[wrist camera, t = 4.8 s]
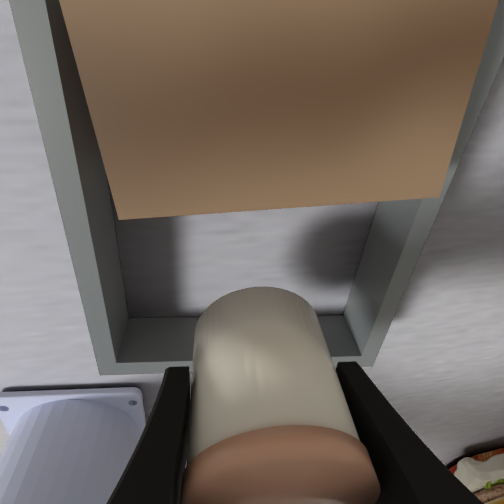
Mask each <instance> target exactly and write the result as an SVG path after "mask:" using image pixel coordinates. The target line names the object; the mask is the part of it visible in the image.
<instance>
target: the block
mask: <svg viewBox="0 0 504 504" xmlns="http://www.w3.org/2000/svg"><path fill="white" fill-rule="evenodd" d="M59 2H60V6H61V9H62V13H63V17H64V20H65V24H66V28H67V31H68V35H69V39H70V42H71V46H72V50H73V53H74V57H75V61H76V64H77V68H78V72H79V75H80V79H81V83H82V86H83V90H84V94H85V97H86V101H87V105H88V108H89V112H90V116H91V119H92V123H93V127H94V131H95V134H96V138H97V142H98V145H99V149H100V153H101V156H102V160H103V164H104V167H105V171H106V175H107V178H108V182H109V186H110V189H111V193H112V197H113V200H114V204H115V208H116V211H117V215H118V219H119V220H126V219H141V218H155V217H169V216H183V215H197V214H211V213H225V212H239V211H253V210H267V209H281V208H296V207H310V206H324V205H338V204H352V203H366V202H380V201H394V200H408V199H422V198H436V197H440V193H441V190H442V187H443V183H444V180H445V177H446V174H447V170H448V167H449V164H450V160H451V157H452V154H453V150H454V147H455V144H456V140H457V137H458V134H459V131H460V127H461V124H462V121H463V117H464V114H465V111H466V107H467V104H468V101H469V98H470V94H471V91H472V88H473V84H474V81H475V78H476V74H477V71H478V68H479V64H480V61H481V58H482V55H483V51H484V48H485V45H486V41H487V38H488V35H489V31H490V28H491V25H492V21H493V18H494V15H495V12H496V8H497V5H498V2H499V0H59Z"/></svg>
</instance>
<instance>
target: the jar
mask: <svg viewBox="0 0 504 504" xmlns="http://www.w3.org/2000/svg"><path fill="white" fill-rule="evenodd" d="M379 495H380V484H379V481H378V478H377V476H376V473H375V470H374V467H373V464H372V462H371V459H370V456H369V453H368V451H367V448H366V447H365V446H364V444H363V443H362V442H360V439H359V436H358V434H357V431H356V428H355V425H354V422H353V419H352V416H351V413H350V410H349V408H348V405H347V402H346V399H345V396H344V393H343V390H342V387H341V384H340V382H339V379H338V376H337V373H336V370H335V367H334V364H333V361H332V358H331V356H330V353H329V350H328V347H327V344H326V341H325V338H324V335H323V332H322V330H321V327H320V324H319V321H318V318H317V315H316V313H315V311H314V309H313V308H312V306H311V305H310V304H309V303H308V302H307V301H306V300H305V299H303V298H302V297H300V296H299V295H297V294H295V293H293V292H290V291H287V290H284V289H280V288H274V287H252V288H246V289H241V290H237V291H235V292H232V293H229V294H227V295H225V296H223V297H221V298H219V299H218V300H216V301H215V302H213V303H212V304H211V305H210V306H208V307H207V309H206V310H205V311H204V312H203V313H202V315H201V316H200V317H199V319H198V321H197V324H196V327H195V334H194V349H193V366H192V382H191V398H190V414H189V431H188V447H187V463H186V468H185V470H184V472H183V475H182V480H181V493H180V504H375V503H376V501H377V500H378V498H379Z"/></svg>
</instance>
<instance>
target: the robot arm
mask: <svg viewBox="0 0 504 504" xmlns="http://www.w3.org/2000/svg"><path fill="white" fill-rule="evenodd" d="M336 373H337V376H338V379H339V382H340V384H341V387H342V390H343V393H344V396H345V399H346V402H347V405H348V408H349V410H350V413H351V416H352V419H353V422H354V425H355V428H356V431H357V434H358V436H359V439H360V442H362V443H363V444H364V446H365V447H366V448H367V451H368V453H369V456H370V459H371V462H372V464H373V467H374V470H375V473H376V476H377V478H378V481H379V484H380V495H379V498H378V500H377V501H376V503H375V504H484V503H483V502H482V501H481V500H480V499H478V498H477V497H476V496H475V495H474V494H473V493H472V492H471V491H470V490H469V489H468V488H467V487H466V486H465V485H464V484H463V483H462V482H461V481H460V480H459V479H458V478H457V477H456V476H455V475H454V474H453V473H452V472H451V471H450V470H449V469H448V468H447V467H446V466H445V465H444V464H443V463H442V462H441V461H440V460H439V459H438V458H437V457H436V456H435V455H434V454H433V453H432V451H431V450H430V449H429V448H428V447H427V446H426V445H425V444H424V443H423V442H422V441H421V439H420V438H419V437H418V436H417V435H416V434H415V433H414V432H413V430H412V429H411V428H410V427H409V426H408V425H407V423H406V422H405V421H404V420H403V419H402V418H401V416H400V415H399V414H398V413H397V412H396V410H395V409H394V408H393V407H392V406H391V404H390V403H389V402H388V401H387V400H386V398H385V397H384V396H383V395H382V393H381V392H380V391H379V390H378V388H377V387H376V386H375V385H374V383H373V382H372V381H371V379H370V378H369V377H368V376H367V374H366V373H365V372H364V370H363V369H362V368H361V367H360V365H359V364H358V363H357V362H356V361H351V362H338V364H337V367H336ZM189 414H190V375H189V366H180V367H168V368H167V369H165V373H164V377H163V381H162V384H161V387H160V390H159V393H158V396H157V399H156V401H155V404H154V406H153V409H152V412H151V414H150V416H149V419H148V421H147V423H146V419H145V412H144V405H143V398H142V392H141V390H140V389H138V388H136V387H122V388H96V389H69V390H43V391H16V392H0V419H1V421H2V423H3V424H4V426H5V428H6V430H7V432H8V434H9V435H10V437H9V439H8V441H7V443H6V445H5V447H4V449H3V452H2V454H1V456H0V504H180V493H181V480H182V475H183V472H184V470H185V467H186V459H187V447H188V431H189Z"/></svg>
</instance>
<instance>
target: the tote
mask: <svg viewBox="0 0 504 504" xmlns="http://www.w3.org/2000/svg"><path fill="white" fill-rule="evenodd" d="M9 2H10V6H11V11H12V15H13V19H14V23H15V27H16V31H17V35H18V40H19V44H20V48H21V52H22V56H23V60H24V64H25V68H26V73H27V77H28V81H29V85H30V89H31V93H32V97H33V102H34V106H35V110H36V114H37V118H38V122H39V126H40V130H41V135H42V139H43V143H44V147H45V151H46V155H47V159H48V164H49V168H50V172H51V176H52V180H53V184H54V188H55V192H56V197H57V201H58V205H59V209H60V213H61V217H62V221H63V226H64V230H65V234H66V238H67V242H68V246H69V250H70V254H71V259H72V263H73V267H74V271H75V275H76V279H77V283H78V288H79V292H80V296H81V300H82V304H83V308H84V312H85V316H86V321H87V325H88V329H89V333H90V337H91V341H92V345H93V350H94V354H95V358H96V362H97V366H98V370H99V374H100V375H125V374H156V373H165V369H167V368H168V367H180V366H189V372H192V366H193V349H194V334H195V327H196V324H197V321H198V319H199V317H163V318H128V313H127V306H126V299H125V293H124V286H123V279H122V273H121V266H120V259H119V253H118V246H117V239H116V233H115V226H114V219H113V213H112V206H111V199H110V193H109V186H108V179H107V175H106V171H105V167H104V164H103V160H102V156H101V153H100V149H99V145H98V142H97V138H96V134H95V131H94V127H93V123H92V119H91V116H90V112H89V108H88V105H87V101H86V97H85V94H84V90H83V86H82V83H81V79H80V75H79V72H78V68H77V64H76V61H75V57H74V53H73V50H72V46H71V42H70V39H69V35H68V31H67V28H66V24H65V20H64V17H63V13H62V9H61V6H60V2H59V0H9ZM503 58H504V0H499V2H498V5H497V8H496V12H495V15H494V18H493V21H492V25H491V28H490V31H489V35H488V38H487V41H486V45H485V48H484V51H483V55H482V58H481V61H480V64H479V68H478V71H477V74H476V78H475V81H474V84H473V88H472V91H471V94H470V98H469V101H468V104H467V107H466V111H465V114H464V117H463V121H462V124H461V127H460V131H459V134H458V137H457V140H456V144H455V147H454V150H453V154H452V157H451V160H450V164H449V167H448V170H447V174H446V177H445V180H444V183H443V187H442V190H441V193H440V197H436V198H422V199H408V200H394V201H380V202H378V205H377V208H376V212H375V215H374V218H373V221H372V224H371V228H370V231H369V234H368V237H367V240H366V244H365V247H364V250H363V253H362V256H361V260H360V263H359V266H358V269H357V272H356V276H355V279H354V282H353V285H352V288H351V292H350V295H349V298H348V301H347V304H346V308H345V311H344V314H343V315H337V316H317V318H318V321H319V324H320V327H321V330H322V332H323V335H324V338H325V341H326V344H327V347H328V350H329V353H330V356H331V358H332V361H333V364H334V367H335V368H336V367H337V364H338V362H351V361H356V362H357V363H358V364H359V365H360V367H369V366H373V365H374V362H375V360H376V358H377V355H378V353H379V350H380V348H381V346H382V343H383V341H384V339H385V336H386V334H387V332H388V329H389V327H390V324H391V322H392V320H393V317H394V315H395V313H396V310H397V308H398V306H399V303H400V301H401V299H402V296H403V294H404V291H405V289H406V287H407V284H408V282H409V280H410V277H411V275H412V273H413V270H414V268H415V265H416V263H417V261H418V258H419V256H420V254H421V251H422V249H423V247H424V244H425V242H426V239H427V237H428V235H429V232H430V230H431V228H432V225H433V223H434V221H435V218H436V216H437V214H438V211H439V209H440V206H441V204H442V202H443V199H444V197H445V195H446V192H447V190H448V188H449V185H450V183H451V180H452V178H453V176H454V173H455V171H456V169H457V166H458V164H459V162H460V159H461V157H462V154H463V152H464V150H465V147H466V145H467V143H468V140H469V138H470V136H471V133H472V131H473V129H474V126H475V124H476V121H477V119H478V117H479V114H480V112H481V110H482V107H483V105H484V103H485V100H486V98H487V95H488V93H489V91H490V88H491V86H492V84H493V81H494V79H495V77H496V74H497V72H498V69H499V67H500V65H501V62H502V60H503Z"/></svg>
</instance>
